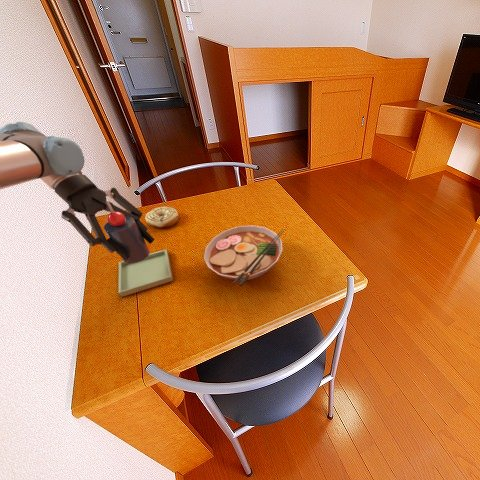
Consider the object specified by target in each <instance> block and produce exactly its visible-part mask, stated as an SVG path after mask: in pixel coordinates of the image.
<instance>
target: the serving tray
mask: <svg viewBox="0 0 480 480" xmlns="http://www.w3.org/2000/svg"><path fill="white" fill-rule="evenodd" d="M170 262H171V261H170V257H169V252H168V250H167V249H162V250H159V251H155V252H150V253H149V255H148V256H147V257H146V258H145V259H144V260H142V261H140V262H137V263H126V262H124V261H123V260H122V261H118V285H117V287H118V288H117V289H118V291H117V292H118V295H119V296H120V297H121V298H122V297H126V296H129V295H132V294H135V293H138V292H142V291H144V290H148V289H151V288H154V287H157V286H160V285H161V286H162V285H164V284H167V283H170V282H173V281H174V280H173V273H172V267H171V263H170Z"/></svg>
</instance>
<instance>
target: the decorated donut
mask: <svg viewBox="0 0 480 480" xmlns="http://www.w3.org/2000/svg"><path fill="white" fill-rule="evenodd" d="M144 219H145V222H146V223H147V224H148V226H151V227H153V228H158V229H159V228H168V227H170V226H173V225H175V224H176V223H177V222H178V220H179V212H178V211H177V209H175V208H174V207H171V206H159V207H155V208H152V209H151V210H150V211H149V212H147V213H146V214H145V217H144Z"/></svg>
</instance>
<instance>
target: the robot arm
mask: <svg viewBox="0 0 480 480" xmlns="http://www.w3.org/2000/svg"><path fill="white" fill-rule="evenodd" d="M84 166H85V156H84V153H83V150H82V149H81V147H80V146H79V145H78V143H76V142H75V141H74V140H72V139H70V138H68V137H67V138H66V137H60V136H54V135H50V136H48V135H45V134H44V133H42V132H41V130H39V129H38V128H37V127H35V126H34V125H33V124H31V123H28V122H26V121H15V122H14V123H12V122H11V123H10V122H9V123H7V124H4V125H2V126H1V127H0V190H5V189H8V188H11V187H14V186H15V187H16V186H17V185H18V186H19V185H21V184H25V183H28V182H31V181H35V180H38V179H39V180H41V181H42V182H43V183H44V184H45V185H46V186H48V187H49V188H50V189H51V190H53V191H54V194H56V195H57V196H58V197H59V198H60V199H62V200H63V202H64V203H66V204H67V205H68V208H67V209H66V210H62V211H61V215H60V217H61V218H62V219H63V220H64V221H66V222H68V223H70V225H71V226H72V227H73V228H74V229H75V230H76V231H77V232H78V234H79V235H80V236H81V237H82V238H83V239H84V240H85V241H86V243H87V244H88V245H89V246H91V247H95V246H97V245H100V246H103V247H104V248H105V249H106V250H107V251H108V252H109V253H112V254H113V253H115V252H116V254H118V256H120V258H121V257H122V258H123V259H124V260H125V261H126V260H128V259H129V257H130V255H129V254H128V253H126V252H125V251H124V250H123V249H122V248H121V247H120V246H119V245H118V244H117V243H116V242H115V241H114V240H112V239H111V238H109V237H108V238H106V235H105V233H104V231H103V229H102V227H101V225H100V223H99V221H98V219H97V216H96V214H97V213H99V212H102V211H105V212H109V213H111V211H110V209H109V207H108V205H107V204H106V202H105V201H106V200H107V197H109V199H112V200H113V201H114V202H116V203H117V204H118V205H119V206H121V207H119V206H118V205H115V204H113V202H111V201H109V203H110V205H111V207H112V209H113V210H114V212H115V211H117V212H121V213H123V214H124V215H125V216H128V217H132V218H133V219H134V220H135V222H136V224H137V226H138V228H139V230H140V232H141V234H142V236H143V238H144V240H145V242H146V243H148V244H149V245H151V244H152V243H153V242H154V241H155V238H154V237H153V236H152V235H151V234H150V233H149V232H148V227H147V226H146V225H145V224H144V223H143V221H141V218H142V216H143V212H142V211H141V210H140V209H138V208H137V207H136V206H134V204H132V203H131V202H130V201H129V200H128V199H126V198H125V197H124V196H122V195H121V194H120V192H119V190H118V189H117V188H116V187H111V188H110V189H108V190H103V189H101V188H99V187H98V186H97V185H96V184H95V183H94V182H93V181H92V180H91V179H90V178H89V177H88V176H87V175H86V174H83V171H82V170H83V168H84ZM122 208H123V209H122ZM76 213H79V214H84V216H85V218H86V220H87V221H88V223H89V225H90V227H91V229H92V232H93V233H91V232H90V230H88V228H87V227H86V226H85V224H83V222H81V220H80V219H79V218H78V217H77V216H76ZM93 234H94V235H95V236H94V235H93ZM122 258H121V259H122Z"/></svg>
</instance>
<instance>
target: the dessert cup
mask: <svg viewBox="0 0 480 480" xmlns="http://www.w3.org/2000/svg"><path fill="white" fill-rule="evenodd" d="M105 202H106V204H107V205H108V207H109V209H110V211H111V212H109V213H108V215H107V217H106V220H107V222H106V223H105V224H104V226H103V230H104V231H105V233H106V235H107V237H108V238H111V239H112V240H114V241H115V242H116V243H117V244H118V245H119V246H120V247H121V248H122V249H123V250H124V251H125V252H126V253H128V254H129V255H130V257H129V259H128V260H126V261H125V260H124V259H123V258H122V257H121V256H120V258H121V259H122V261H124V262H126V263H137V262H140V261H142V260H144V259H145V258H146V257H147V256H148V255H149V254H151V250H150V248H149V246H148V244H147V241H146V240H145V239H144V238H143V236H142V234H141V232H140V230H139V228H138V226H137V224H136V222H135V220H134V219H133V218H132V217H128V216H125V215H124V214H123V213H121V212H117V211H115V212H114V210H113V209H112V207H111V205H110V203H109V202H110V201H109V200H108V199H106V201H105Z"/></svg>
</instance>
